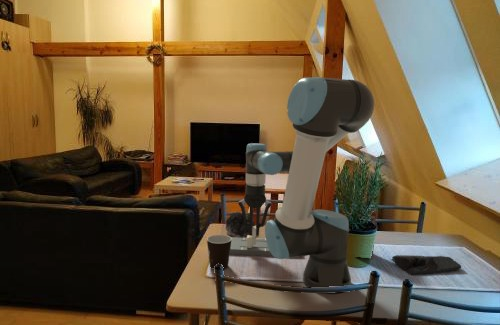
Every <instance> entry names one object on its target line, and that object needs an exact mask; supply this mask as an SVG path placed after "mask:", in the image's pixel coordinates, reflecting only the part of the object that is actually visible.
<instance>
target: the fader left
mask: <svg viewBox="0 0 500 325" xmlns="http://www.w3.org/2000/svg"><path fill="white" fill-rule="evenodd" d="M246 238H247V248H252V236H250V235H247V236H246Z"/></svg>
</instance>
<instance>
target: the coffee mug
mask: <svg viewBox="0 0 500 325" xmlns="http://www.w3.org/2000/svg"><path fill="white" fill-rule="evenodd" d="M231 240H232V237H231V235H228V234H227V235H225V234H214V235H213V234H212V235H210V236H207V238H206V243H207V252H208V253H207V254H208V261H209V262H208V263H209V267H211V268H210V269H212V268H214V266H215V265H216V264H218V263H219V264H222V265H223V267H224V269H223V270H226V269H227V268H228V267H229V261H230V255H231V254H230V248H231Z"/></svg>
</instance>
